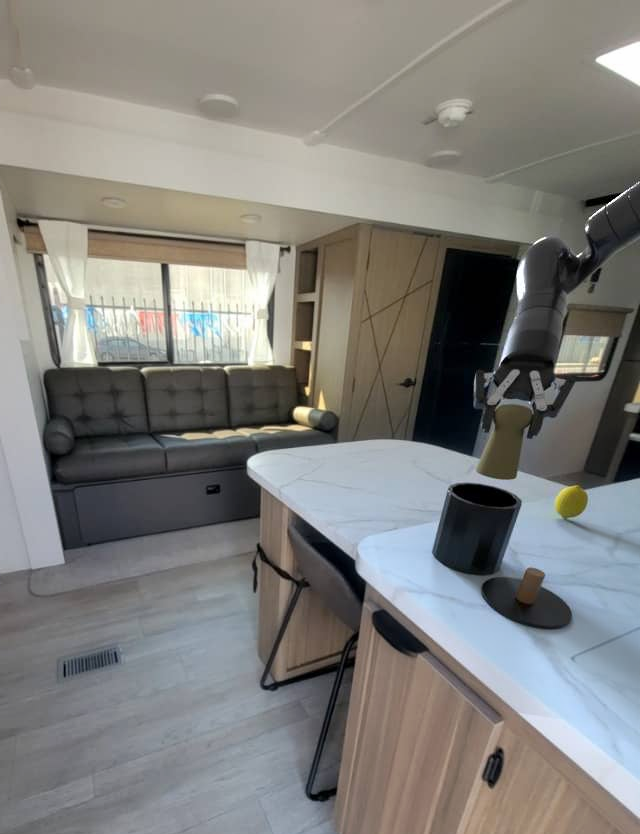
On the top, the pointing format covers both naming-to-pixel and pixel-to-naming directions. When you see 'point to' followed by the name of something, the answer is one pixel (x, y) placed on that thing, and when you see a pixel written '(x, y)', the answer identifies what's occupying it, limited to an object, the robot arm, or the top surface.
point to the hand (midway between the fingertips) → (508, 432)
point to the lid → (527, 600)
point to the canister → (475, 528)
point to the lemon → (571, 502)
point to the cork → (505, 442)
